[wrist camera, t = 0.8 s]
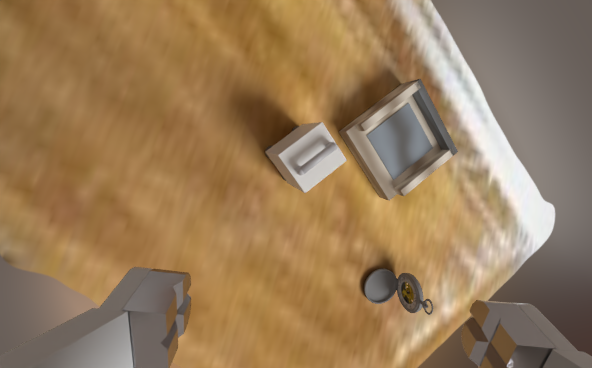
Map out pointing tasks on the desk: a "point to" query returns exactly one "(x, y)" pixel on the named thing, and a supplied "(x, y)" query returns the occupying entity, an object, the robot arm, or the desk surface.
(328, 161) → the trolley
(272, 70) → the desk surface
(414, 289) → the pocket watch
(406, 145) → the dock
